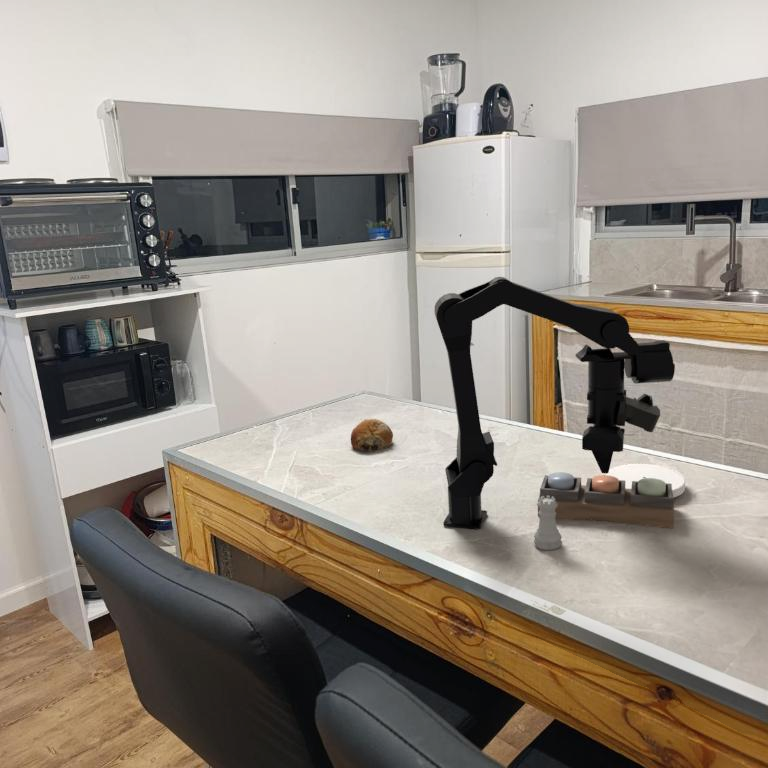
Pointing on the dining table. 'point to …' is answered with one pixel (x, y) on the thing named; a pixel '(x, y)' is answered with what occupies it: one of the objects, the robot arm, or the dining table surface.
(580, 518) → the button panel
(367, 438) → the bread roll
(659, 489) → the sage button
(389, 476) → the dining table surface
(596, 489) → the terracotta button
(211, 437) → the dining table surface
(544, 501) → the rook chess piece
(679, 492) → the plastic lid
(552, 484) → the slate-blue button
